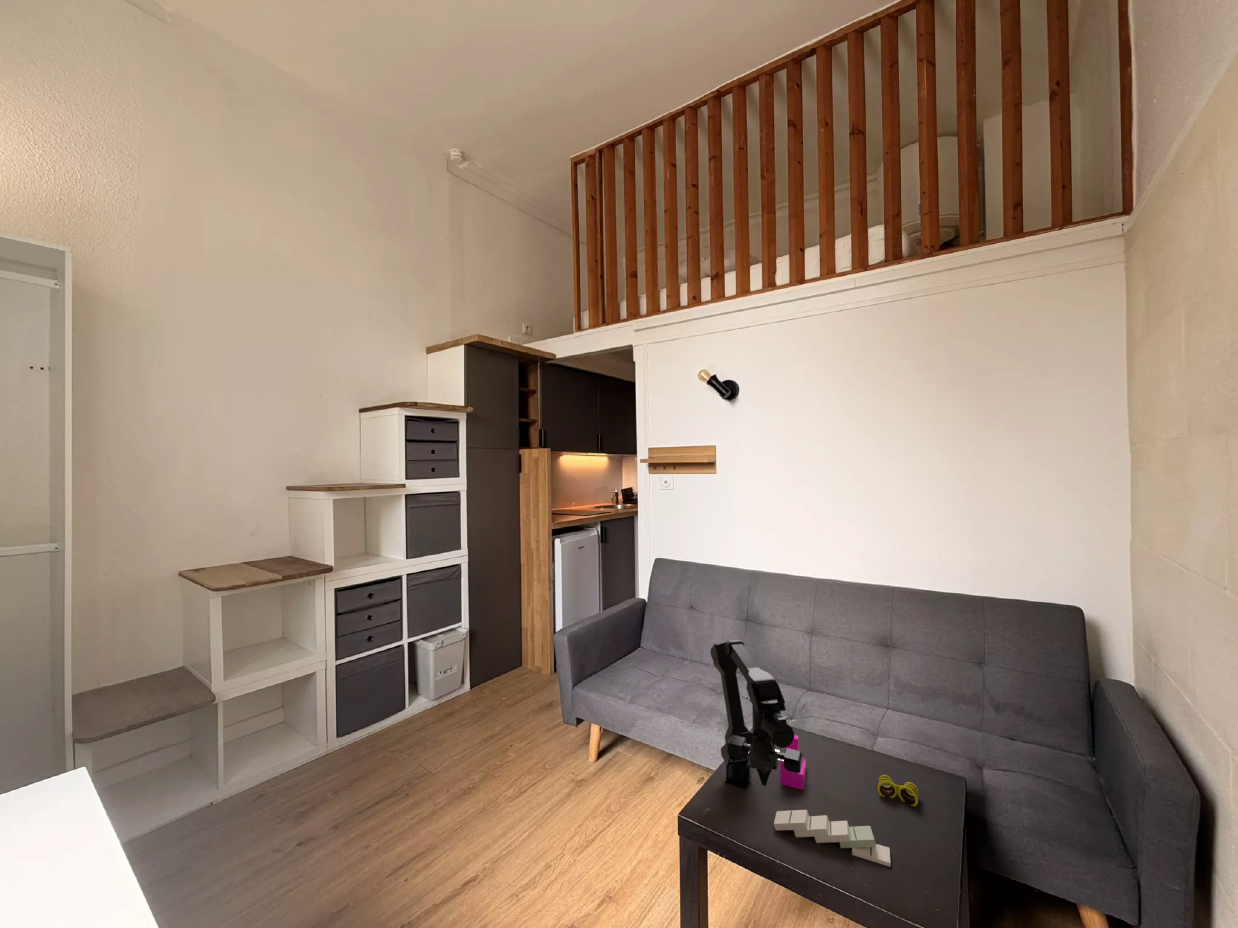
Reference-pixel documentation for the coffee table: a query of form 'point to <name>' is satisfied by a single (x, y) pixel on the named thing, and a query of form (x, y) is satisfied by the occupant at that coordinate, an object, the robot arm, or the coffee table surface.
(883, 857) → the domino
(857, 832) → the pale green domino
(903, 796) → the opera glasses
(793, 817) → the domino
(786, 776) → the toy block
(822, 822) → the domino
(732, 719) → the robot arm
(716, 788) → the coffee table surface
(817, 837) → the domino
